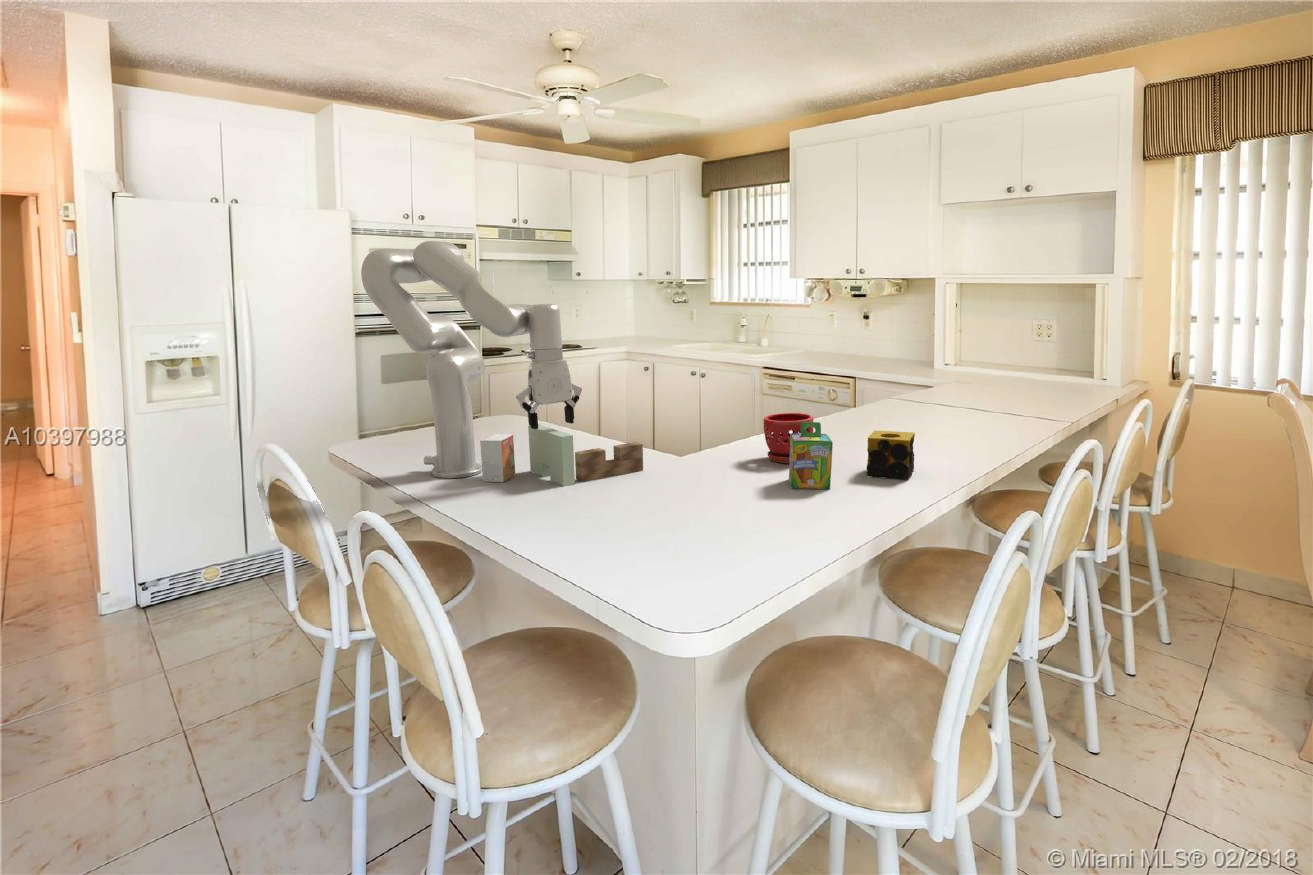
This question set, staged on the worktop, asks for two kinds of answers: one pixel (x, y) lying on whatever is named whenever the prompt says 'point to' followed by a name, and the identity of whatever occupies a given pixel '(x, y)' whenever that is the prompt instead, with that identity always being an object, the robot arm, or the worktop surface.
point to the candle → (890, 454)
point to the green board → (552, 454)
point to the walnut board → (608, 462)
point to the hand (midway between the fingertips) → (552, 425)
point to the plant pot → (783, 433)
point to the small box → (497, 458)
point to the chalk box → (810, 458)
